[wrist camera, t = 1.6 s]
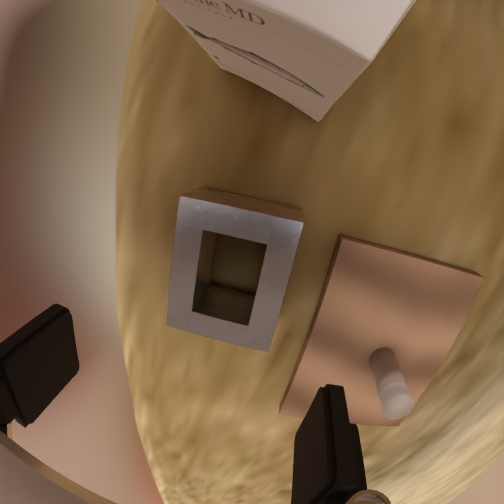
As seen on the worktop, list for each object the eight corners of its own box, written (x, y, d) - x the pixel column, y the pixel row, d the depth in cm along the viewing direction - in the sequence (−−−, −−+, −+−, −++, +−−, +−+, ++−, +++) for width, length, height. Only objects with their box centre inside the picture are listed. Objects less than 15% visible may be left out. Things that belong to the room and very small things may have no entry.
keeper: (339, 234, 18) (361, 273, 12) (477, 273, 18) (524, 312, 12) (279, 406, 24) (273, 464, 18) (396, 419, 23) (409, 470, 17)
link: (202, 187, 19) (179, 196, 15) (301, 208, 18) (303, 223, 14) (186, 296, 21) (166, 325, 17) (272, 318, 21) (268, 351, 17)
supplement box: (217, 69, 16) (107, -31, 4) (277, -10, 14) (253, -145, 2) (318, 127, 16) (373, 69, 5) (376, 43, 14) (464, -66, 2)
